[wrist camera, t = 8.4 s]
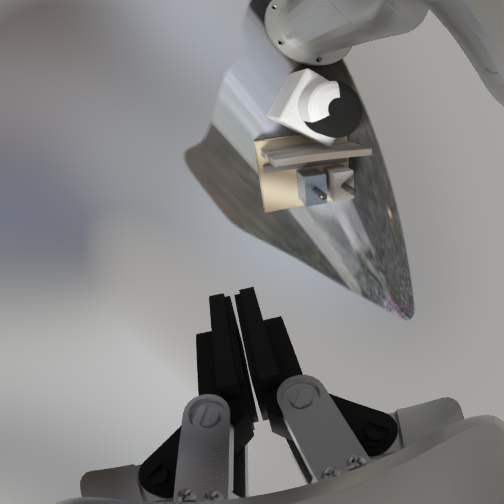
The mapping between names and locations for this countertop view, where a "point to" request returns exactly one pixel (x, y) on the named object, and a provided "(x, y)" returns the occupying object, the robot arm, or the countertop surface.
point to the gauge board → (304, 168)
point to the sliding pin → (312, 187)
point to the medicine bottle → (316, 107)
